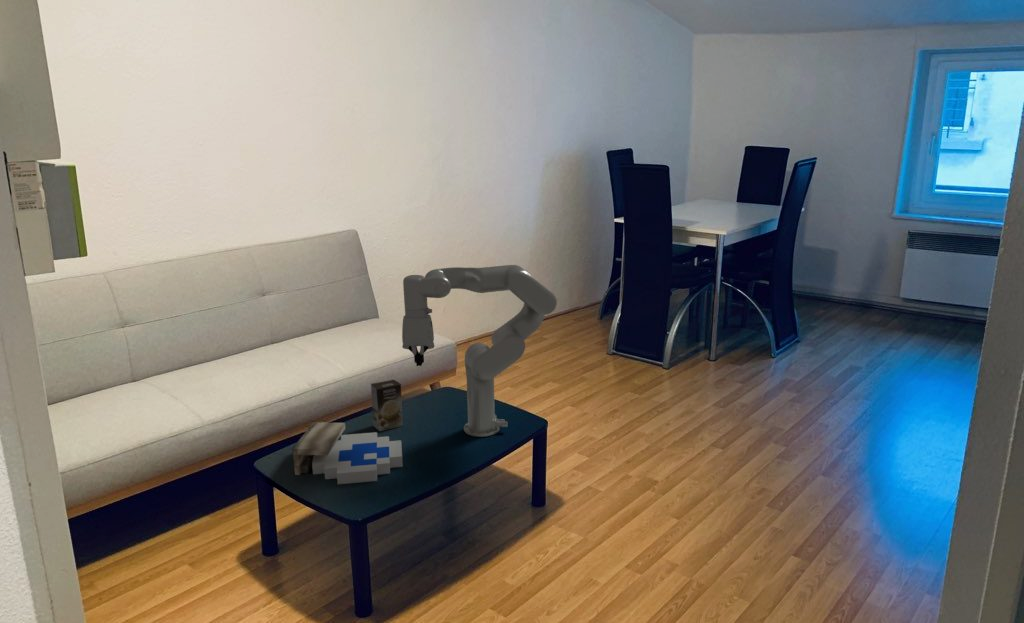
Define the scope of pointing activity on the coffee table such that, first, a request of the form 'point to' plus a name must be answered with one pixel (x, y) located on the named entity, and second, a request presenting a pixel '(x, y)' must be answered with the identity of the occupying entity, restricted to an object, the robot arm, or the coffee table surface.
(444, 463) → the coffee table surface
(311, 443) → the low shelf
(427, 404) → the coffee table surface
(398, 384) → the coffee box
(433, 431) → the coffee table surface
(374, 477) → the pixel art tile
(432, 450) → the coffee table surface
